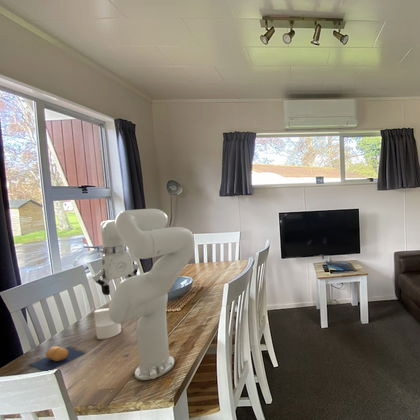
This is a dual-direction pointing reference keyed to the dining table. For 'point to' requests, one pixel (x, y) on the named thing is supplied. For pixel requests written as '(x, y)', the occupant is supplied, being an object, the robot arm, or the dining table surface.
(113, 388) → the dining table surface
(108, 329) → the base with upright slab
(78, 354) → the napkin
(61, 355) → the bread roll
